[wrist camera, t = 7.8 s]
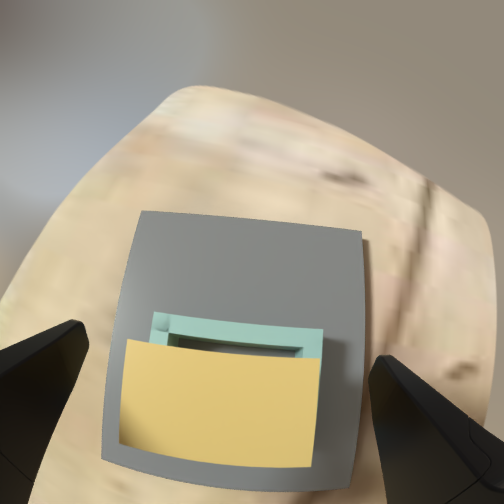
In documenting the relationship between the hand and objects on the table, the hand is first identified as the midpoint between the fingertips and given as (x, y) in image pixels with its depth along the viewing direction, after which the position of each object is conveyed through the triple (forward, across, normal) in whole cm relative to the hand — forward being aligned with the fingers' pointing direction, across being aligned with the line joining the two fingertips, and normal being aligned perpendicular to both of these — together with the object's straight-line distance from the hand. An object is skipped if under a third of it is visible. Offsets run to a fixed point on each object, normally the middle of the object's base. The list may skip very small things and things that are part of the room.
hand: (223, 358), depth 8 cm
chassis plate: (+8, 0, +7) cm, 10 cm away
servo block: (+5, 0, +7) cm, 9 cm away
